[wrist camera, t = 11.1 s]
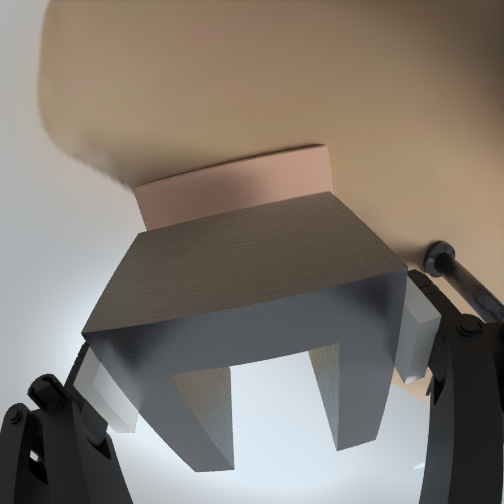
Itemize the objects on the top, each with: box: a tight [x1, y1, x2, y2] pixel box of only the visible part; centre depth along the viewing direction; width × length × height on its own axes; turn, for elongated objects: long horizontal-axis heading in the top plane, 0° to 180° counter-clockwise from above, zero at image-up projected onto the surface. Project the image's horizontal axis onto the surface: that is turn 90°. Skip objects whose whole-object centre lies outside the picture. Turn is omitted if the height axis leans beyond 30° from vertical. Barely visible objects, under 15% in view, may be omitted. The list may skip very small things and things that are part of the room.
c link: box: [81, 191, 408, 472], centre depth 13 cm, size 10×9×7 cm
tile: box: [134, 145, 334, 231], centre depth 19 cm, size 13×11×1 cm
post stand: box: [424, 241, 504, 323], centre depth 15 cm, size 6×3×10 cm, turn 11°
